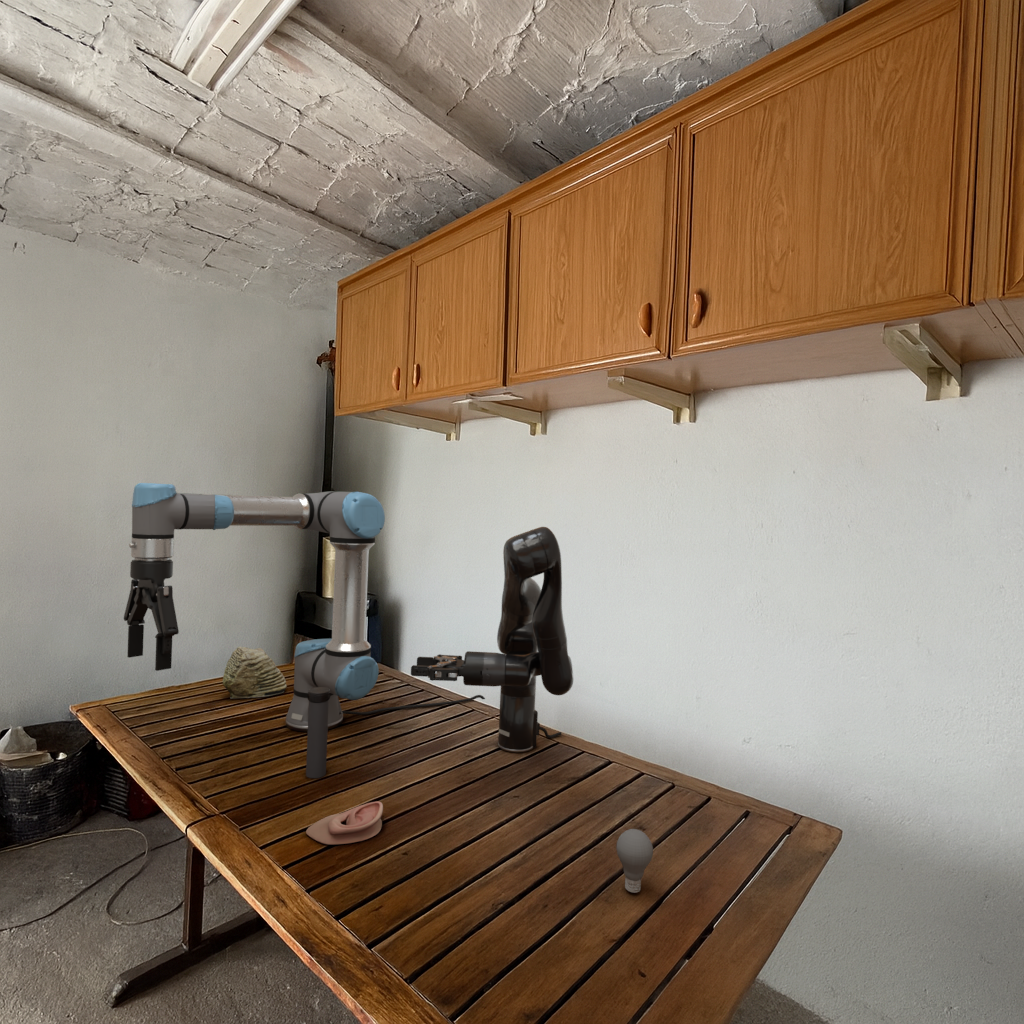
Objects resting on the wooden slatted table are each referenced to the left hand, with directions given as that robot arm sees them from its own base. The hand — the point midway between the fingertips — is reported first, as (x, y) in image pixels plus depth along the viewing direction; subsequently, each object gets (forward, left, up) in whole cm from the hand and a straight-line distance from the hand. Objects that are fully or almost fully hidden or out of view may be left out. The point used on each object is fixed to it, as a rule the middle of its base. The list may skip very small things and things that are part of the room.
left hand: (148, 662), depth 129 cm
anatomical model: (-20, +40, -28) cm, 53 cm away
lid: (-31, +15, -9) cm, 35 cm away
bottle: (-31, +15, -28) cm, 44 cm away
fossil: (-50, -47, -28) cm, 74 cm away
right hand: (-44, +31, -2) cm, 54 cm away
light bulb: (-41, +90, -28) cm, 103 cm away
